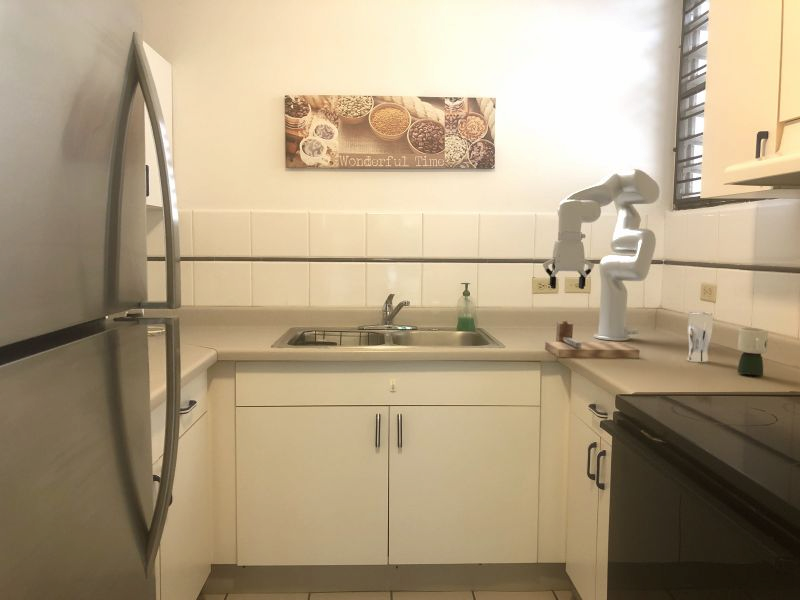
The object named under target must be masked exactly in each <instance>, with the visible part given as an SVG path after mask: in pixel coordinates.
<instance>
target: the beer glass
mask: <svg viewBox="0 0 800 600" xmlns="http://www.w3.org/2000/svg"><path fill="white" fill-rule="evenodd" d="M688 314H689V315H688V319H687V338H688V353H687V357H686V360H687V361H689V362H692V363H701V364H702V363H704V364H705V363H709V354H708V352H709V351H708V350H709V346H710V342H711V341H710V340H711V339H712V338H711V337H712V335H713V334H712V333H713V325H714V324H713V323H714V321H713V320H714V319H713V318H714V315H713V313H712V312H711V313H710V312H704V311H702V312H701V311H689V313H688Z"/></svg>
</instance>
